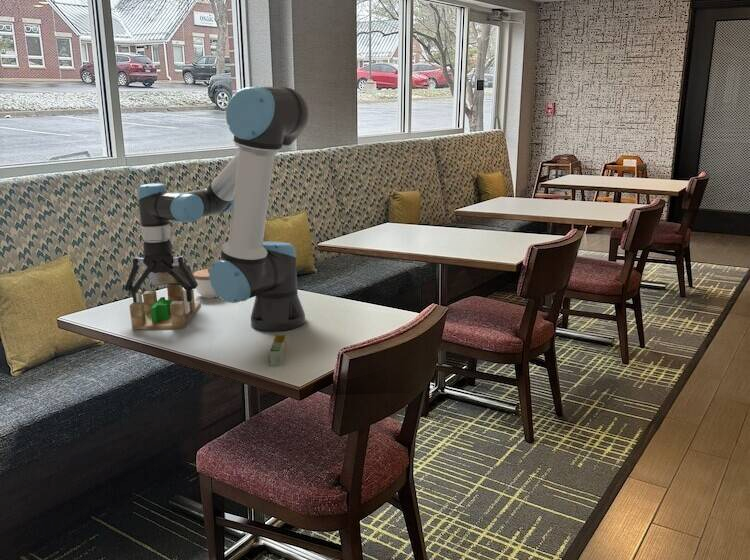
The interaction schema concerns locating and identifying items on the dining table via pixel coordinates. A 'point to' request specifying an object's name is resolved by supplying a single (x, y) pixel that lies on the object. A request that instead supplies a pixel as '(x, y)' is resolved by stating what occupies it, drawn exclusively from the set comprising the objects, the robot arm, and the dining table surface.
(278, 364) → the medication box
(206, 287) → the lidded jar
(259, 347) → the dining table surface
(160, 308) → the pipe clamp
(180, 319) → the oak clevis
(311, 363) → the dining table surface
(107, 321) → the dining table surface
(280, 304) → the robot arm
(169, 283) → the plate
